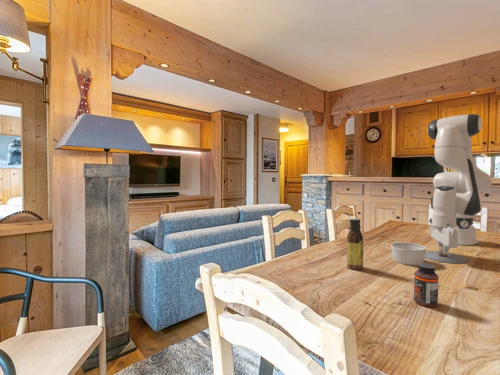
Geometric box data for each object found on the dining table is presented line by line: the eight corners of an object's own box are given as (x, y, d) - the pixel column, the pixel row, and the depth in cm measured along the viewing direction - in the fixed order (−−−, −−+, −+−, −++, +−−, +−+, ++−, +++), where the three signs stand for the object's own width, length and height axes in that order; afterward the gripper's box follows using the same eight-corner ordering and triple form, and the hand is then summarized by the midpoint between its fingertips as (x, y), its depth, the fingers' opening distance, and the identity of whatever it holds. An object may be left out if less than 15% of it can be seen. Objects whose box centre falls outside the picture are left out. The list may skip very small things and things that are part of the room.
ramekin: (413, 268, 109) (413, 251, 109) (383, 259, 121) (384, 244, 121) (432, 263, 116) (432, 247, 115) (402, 255, 127) (403, 240, 127)
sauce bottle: (364, 270, 107) (365, 220, 106) (347, 269, 108) (348, 220, 107) (361, 265, 113) (362, 218, 113) (345, 264, 115) (346, 217, 114)
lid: (415, 251, 134) (415, 241, 134) (455, 254, 130) (456, 244, 129) (428, 262, 118) (428, 251, 117) (475, 265, 113) (475, 254, 113)
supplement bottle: (409, 298, 83) (409, 262, 82) (427, 298, 83) (428, 261, 83) (423, 308, 77) (424, 269, 76) (442, 307, 77) (444, 268, 77)
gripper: (463, 226, 112) (462, 260, 113) (442, 219, 132) (441, 247, 132) (445, 226, 114) (444, 258, 114) (427, 218, 133) (427, 246, 134)
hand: (443, 252), depth 124 cm, fingers closed on lid, 3 cm apart
